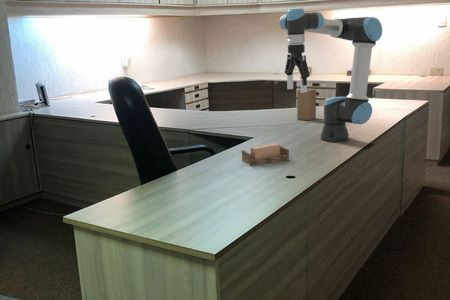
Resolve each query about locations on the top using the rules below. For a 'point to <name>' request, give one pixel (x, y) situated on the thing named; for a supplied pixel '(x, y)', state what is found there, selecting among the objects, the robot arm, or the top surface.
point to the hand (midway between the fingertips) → (296, 90)
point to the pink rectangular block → (265, 151)
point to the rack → (248, 158)
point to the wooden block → (306, 104)
